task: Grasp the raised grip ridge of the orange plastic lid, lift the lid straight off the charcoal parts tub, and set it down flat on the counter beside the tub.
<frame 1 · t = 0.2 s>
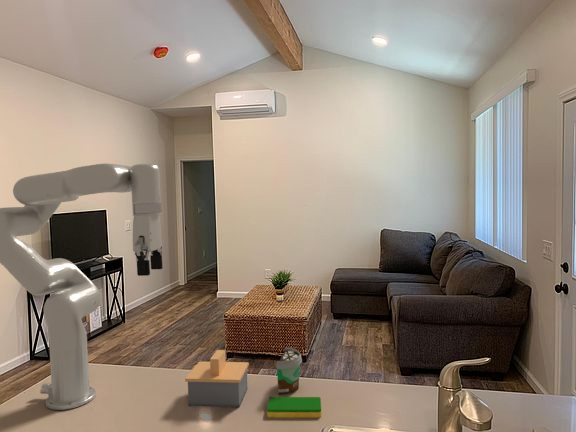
hand: (150, 272, 118), 36 cm above the table, tool pointing down, fingers open, 9 cm apart
lid: (218, 372, 121), point 7 cm above the table, touching tub
food container: (292, 388, 126), on the table
dish sponge: (294, 412, 113), on the table
tub: (219, 397, 121), on the table
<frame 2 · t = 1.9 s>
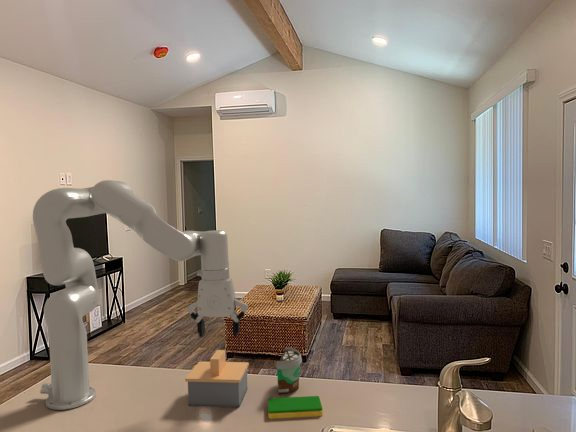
hand: (219, 335, 120), 18 cm above the table, tool pointing down, fingers open, 9 cm apart
nothing on the table moved.
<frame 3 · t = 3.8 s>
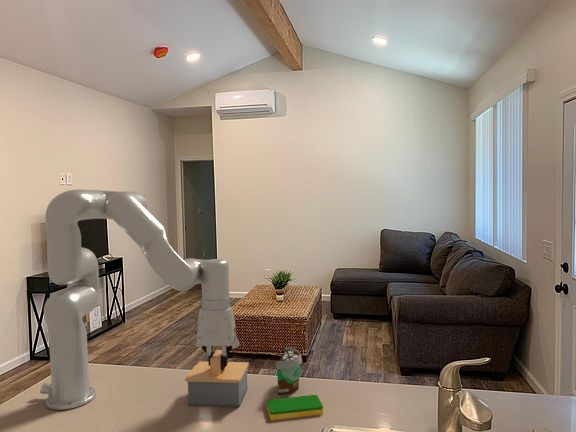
hand: (218, 367, 121), 8 cm above the table, tool pointing down, fingers closed on lid
lid: (218, 372, 121), point 7 cm above the table, touching gripper, tub
everything else where it was.
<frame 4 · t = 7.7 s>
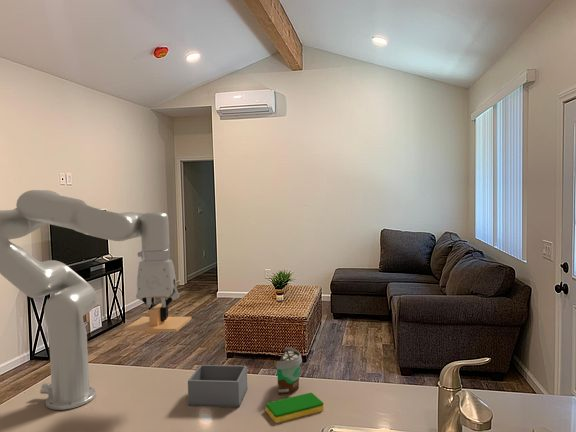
hand: (158, 319, 122), 22 cm above the table, tool pointing down, fingers closed on lid
lid: (159, 325, 122), point 20 cm above the table, touching gripper
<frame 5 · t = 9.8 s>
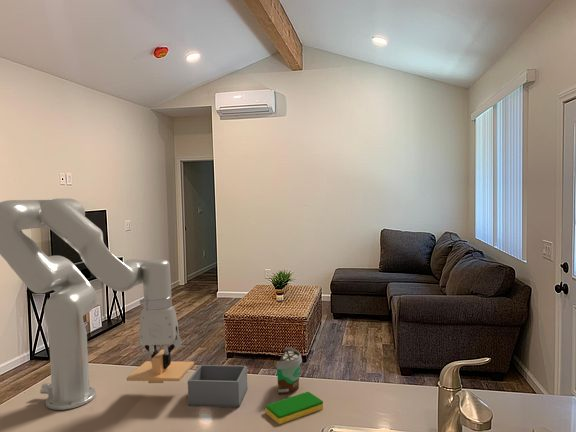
hand: (161, 366, 123), 9 cm above the table, tool pointing down, fingers closed on lid
lid: (161, 372, 123), point 7 cm above the table, touching gripper
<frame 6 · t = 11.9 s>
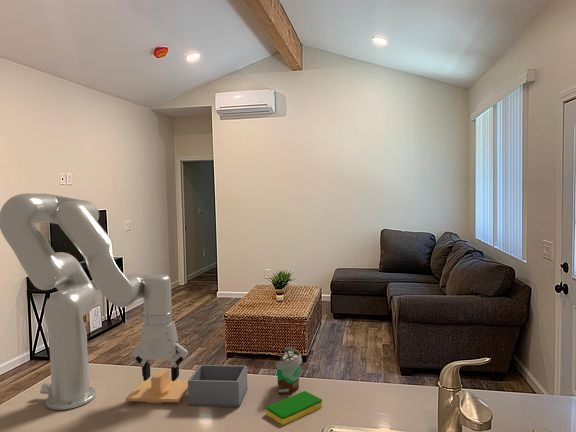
hand: (160, 378, 123), 5 cm above the table, tool pointing down, fingers open, 7 cm apart
lid: (160, 391, 123), point 1 cm above the table
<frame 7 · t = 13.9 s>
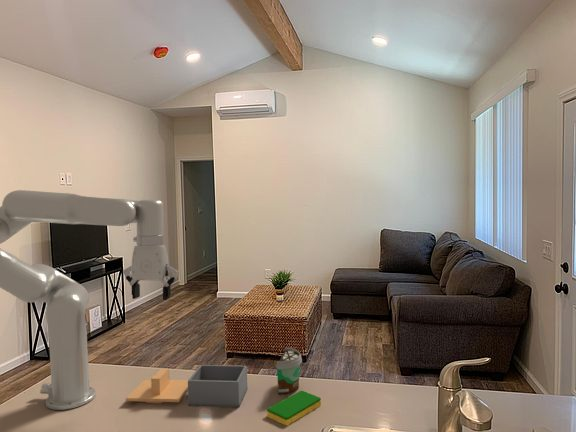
hand: (151, 298, 128), 27 cm above the table, tool pointing down, fingers open, 9 cm apart
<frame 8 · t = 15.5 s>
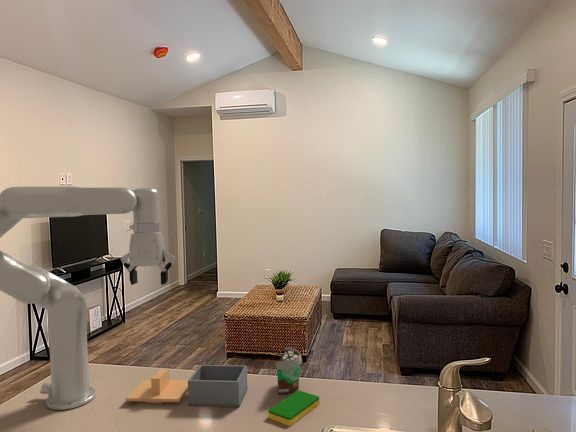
hand: (149, 283, 132), 30 cm above the table, tool pointing down, fingers open, 9 cm apart
at the end: lid touching table; lid inside the target area (0.1 cm from its centre), point 1.2 cm above the table; lid tilted 0° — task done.
